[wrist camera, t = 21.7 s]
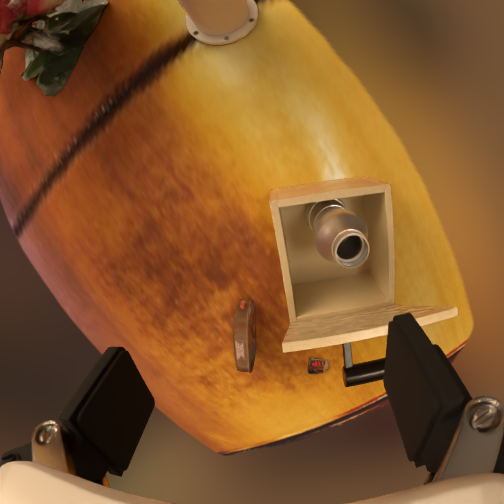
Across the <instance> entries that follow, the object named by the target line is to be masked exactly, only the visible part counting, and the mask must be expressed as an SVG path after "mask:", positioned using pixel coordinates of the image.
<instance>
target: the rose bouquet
mask: <svg viewBox="0 0 504 504" xmlns="http://www.w3.org/2000/svg"><path fill="white" fill-rule="evenodd" d="M107 4H108V0H106V1H105V0H103V1H101V0H87V1H85V2H82V0H0V73H1V70H2V65H3V55H4V51H5V50H6V49H8V48H11V47H14V46H15V47H20V48H24V49H28V51H27V52H26V54H25V60H26V69H25V71H24V72H23V73H22V74H21V76H23V79H24V80H25V81H28V79H30V78H33V77H35V76H36V75H38V76H39V77H38V79H37V81H36V82H37V85H38V86H39V87H40V88H41V89H42V91H43V92H44V93H43V94H44V95H50V96H55V95H56V94H57V93H58V92H59V91H60V90H61V89H62V88H63V87H64V85H65V83H66V81H67V79H68V77H69V75H70V74H71V72H72V70H73V68H74V66H75V65H76V62H77V60H78V58H79V55H80V53H81V51H82V49H83V48H84V47H83V46H82V45H83V44H84V42H85V41H86V39H87V37H88V36H89V35H90V34H91V32H92V31H93V29H94V28H95V26H96V25H97V23H98V21H99V19H100V16H101V13H102V11H103V8H104V7H105V6H106V5H107ZM35 21H38V23H37V24H36V23H34V24H32V23H33V22H35ZM30 39H32V42H31V44H30V43H29V42H28V40H30ZM43 94H42V95H43Z"/></svg>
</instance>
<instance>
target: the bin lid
mask: <svg viewBox="0 0 504 504" xmlns="http://www.w3.org/2000/svg"><path fill="white" fill-rule="evenodd" d="M408 312H410V313H411V314H412V315H413V316H414V318H415V319H416V321H417V322H418V324H419V325H420V327H421V326H425V325H428V324H432V323H436V322H439V321H443V320H446V319H449V318H453V317H456V316H458V307H435V306H410V305H391V306H387V307H382V308H377V309H372V310H367V311H362V312H356V313H351V314H345V315H340V316H334V317H328V318H322V319H316V320H309V321H303V322H296V323H290V325H289V328H288V330H287V333H286V335H285V338H284V340H283V343H282V347H283V353H285V352H293V351H300V350H307V349H314V348H320V347H327V346H333V345H338V344H342V347H343V357H344V366H343V369H342V372H343V381H344V385H345V387H350V386H355V385H360V384H365V383H369V382H374V381H378V380H382V379H383V377H384V369H385V359H386V358H382V359H377V360H373V361H368V362H363V363H358V364H353V363H352V352H351V342H355V341H360V340H365V339H370V338H375V337H379V336H384V335H388V323H389V321H393V317H394V316H395V315H400V314H404V313H408Z"/></svg>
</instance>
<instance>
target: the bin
mask: <svg viewBox="0 0 504 504" xmlns="http://www.w3.org/2000/svg"><path fill="white" fill-rule="evenodd" d="M333 199H341V200H342V201H343V203H344V204H345V207H346V209H349V210H351V211H353V212H355V213H357V214H358V215H360V216H361V218H362V219H363V220H364V222H365V224H366V226H367V232H368V239H367V241H368V243H369V249H370V250H369V255H368V257H367V259H366V260H365V262H364V263H363V264H362V265H360V266H358V267H356V268H345V267H343V266H341V265H340V264H336V263H332V262H330V261H327V260H326V259H324V258H323V257H322V256H321V255H320V254H319V252H318V251H317V248H316V246H315V240H314V232H313V231H312V230H311V229H310V228H309V226H308V224H307V222H306V210H307V207H308V205H309V203H313V202H319V201H326V200H333ZM270 208H271V213H272V218H273V224H274V229H275V235H276V241H277V246H278V252H279V258H280V263H281V269H282V275H283V281H284V287H285V293H286V299H287V305H288V312H289V318H290V323H296V322H303V321H309V320H316V319H322V318H328V317H334V316H340V315H345V314H351V313H356V312H362V311H367V310H372V309H377V308H382V307H387V306H391V305H394V294H395V243H394V221H393V206H392V194H391V184H388V183H385V182H382V181H379V180H375V179H372V178H369V177H366V176H361V177H353V178H345V179H337V180H330V181H323V182H316V183H309V184H303V185H296V186H290V187H284V188H278V189H272V190H271V195H270Z"/></svg>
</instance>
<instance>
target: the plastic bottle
mask: <svg viewBox="0 0 504 504" xmlns="http://www.w3.org/2000/svg"><path fill="white" fill-rule="evenodd" d="M306 222H307V224H308V226H309V228H310V229H311V230H312V231H313V232H314V240H315V246H316V248H317V251H318V252H319V254H320V255H321V256H322V257H323V258H324V259H326V260H327V261H330V262H332V263H336V264H340V265H341V266H343V267H345V268H356V267H358V266H360V265H362V264H363V263H364V262H365V260H366V259H367V257H368V255H369V250H370V249H369V243H368V241H367V239H368V232H367V226H366V224H365V222H364V220H363V219H362V218H361V216H360V215H358V214H357V213H355V212H353V211H351V210H349V209H346V207H345V204H344V203H343V201H342V200H341V199H333V200H326V201H319V202H313V203H309V205H308V207H307V210H306Z"/></svg>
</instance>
